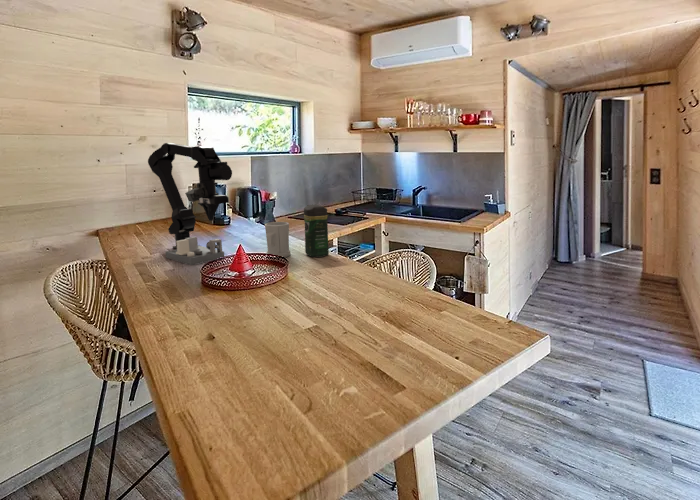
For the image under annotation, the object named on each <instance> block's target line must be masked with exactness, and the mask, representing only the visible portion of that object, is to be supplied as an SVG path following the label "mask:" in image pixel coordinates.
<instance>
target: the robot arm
mask: <svg viewBox="0 0 700 500" xmlns="http://www.w3.org/2000/svg"><path fill="white" fill-rule="evenodd" d="M176 155H178V156H183V157H188V158H191V159H192V160H193V161H196V164H194V165H193V169H197V171H198V181H199V182H197V183H196V187H195V188H192V189H190V190H189V191H186V192H185V195H186V198H187V200H188V202H192V203H193V202H197V201H199V202H198V203H197V204H198V205H200V206H201V207H202V208H203V210H204V212H205V214H206V217H207V219H208V221H209V222H211V221H213V220H214V218H215V215H216V212H217V210H218V208H219V207H220V204H228V203H230V200H229V196H227V195H225V194H219V193H218V192H217V187H216V186H219V185H218V184H219V183H218V182H217V181H229V180H230V179H232V176H233V170H232V169H231V167H230V165H228V161H222V160H221V158H220V157H219V156H218V153H216V151H215V149H214V146H209V145H207V146H191V145H184V144H178V143H175V142H164V143H163V144H161V146H160V147H158V149H156V150H154V151H153V152H152V154H150V155H149V157H148V159H147V163H148V166H149V168H150V170H151V171H152V173H153V174H155V175H156V176H157V177H158V178H159V180H160V182H161V187H162V188H163V190H164V192H165V193H164V194H165V196H166V197H167V199H168V202H169V205H170V207H171V212H172V213H171V221H172V222H171V224H170V225H169V227H168V229H167V230H168V233H169V234H170V235H174V241H175V245H174V246H171V247H172V248H173V249H175V250H176V249H177V243H176V241H179V240H184V239H185V238H189V237H191V236H190V235H191V234H190V232H194V231H195V227H196V223H197V222H196V216H195V214H194V212H193V211H194V210H193V209H192V208H187V207H186V205H185V204H184V203H185V202H184V200H183V199H182V196H181V194H180V191H179V188H178V186H177V183H176V181H175V179H174V177H173V174H172V172H173V167H174V166H173V162H174V160H175V158H176Z"/></svg>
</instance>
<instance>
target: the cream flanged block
mask: <svg viewBox="0 0 700 500" xmlns="http://www.w3.org/2000/svg"><path fill="white" fill-rule="evenodd" d="M176 243H177V252H176V254H179V255H185V254H187V253H188V252H191V251H190V250H189V240H187V239H184V240H179V241H176V242H175V244H176Z"/></svg>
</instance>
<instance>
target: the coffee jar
mask: <svg viewBox="0 0 700 500" xmlns="http://www.w3.org/2000/svg"><path fill="white" fill-rule="evenodd" d="M328 215H329V214H328V208H327V207H325V206H322V205H319V204H306V206H305V207H304V208H303V220H304V248H305V249H304V250H305V251H304V253H305V254H306V255H307V256H309V257H312V258H314V257H315V258H316V257H317V258H322V257H325V256H328V255H329V253H330V250H329V230H328V221H329V220H328Z"/></svg>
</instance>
